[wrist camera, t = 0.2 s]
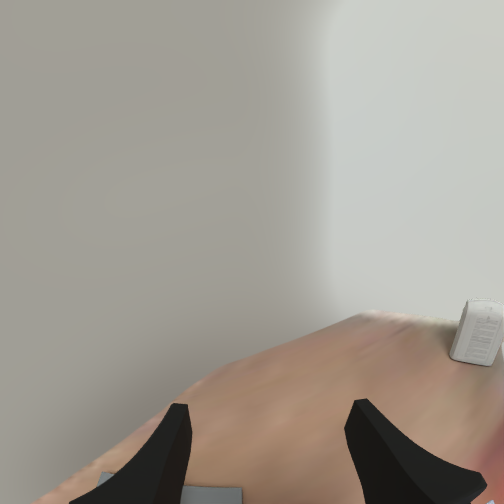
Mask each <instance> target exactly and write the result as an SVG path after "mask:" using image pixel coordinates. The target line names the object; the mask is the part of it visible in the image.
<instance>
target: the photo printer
mask: <svg viewBox="0 0 504 504" xmlns="http://www.w3.org/2000/svg"><path fill="white" fill-rule="evenodd" d="M503 336H504V304H503V303H501V302H498V301H495V300H491V299H483V298H482V299H471V300H468V301H467V302H466V305H465V307H464V309H463V312H462V316H461V319H460V323H459V326H458V329H457V332H456V335H455V339H454V342H453V345H452V348H451V350H450V357H451V358H452V359H454V360H457V361H462V362H467V363H473V364H478V365H485V366H491V365H492V363H493V361H494V359H495V356H496V354H497V351H498V349H499V346H500V344H501V341H502V338H503Z"/></svg>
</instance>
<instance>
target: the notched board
mask: <svg viewBox="0 0 504 504" xmlns="http://www.w3.org/2000/svg"><path fill="white" fill-rule="evenodd" d="M113 475H114V474H110V473H106V472H102V473H101V476H100V479H99V481H98V484H97V487H98V486H99V485H101V484H102V483H104V482H105V481H107V480H108V479H109V478H111V477H112V476H113ZM180 504H243V503H242V488H219V487H197V486H184V485H183V489H182V495H181V503H180Z"/></svg>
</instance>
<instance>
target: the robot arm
mask: <svg viewBox="0 0 504 504" xmlns="http://www.w3.org/2000/svg"><path fill="white" fill-rule="evenodd" d="M344 430H345V435H346V440H347V445H348V448H349V451H350V454H351V457H352V460H353V462H354V465H355V468H356V471H357V474H358V476H359V479H360V482H361V485H362V489H363V493H364V498H365V503H366V504H471V503H470V502H472V501H473V500H474V499H475V498H476V497H477V496H479V495H480V494H481V493H482V492H483V491H484V490H485V489H486V487H487V483H486V482H485V480H484V478H483V477H482V475H481V473H479V472H475V471H471V470H468V469H464V468H461V467H459V466H456V465H453V464H451V463H449V462H446V461H444V460H442V459H440V458H438V457H436V456H434V455H433V454H431V453H429V452H428V451H426V450H425V449H423V448H422V447H420V446H418V445H417V444H416V443H414V442H413V441H412V440H410V439H409V438H408V437H407V436H405V435H404V434H403V433H402V432H401V431H400V430H398V429H397V428H396V427H395V426H394V425H393V424H392V423H391V422H390V421H389V420H388V419H387V418H386V417H385V416H384V415H383V414H382V413H381V412H380V411H379V410H378V409H377V408H376V407H375V406H374V405H373V404H372V403H371V402H370V401H369V400H368V399H367V398H366V399H360V400H354V403H353V406H352V409H351V411H350V414H349V417H348V419H347V422H346V424H345V427H344ZM191 443H192V427H191V422H190V416H189V410H188V404H178V403H173V404H171V406H170V408H169V410H168V411H167V413H166V415H165V416H164V418H163V420H162V421H161V423H160V424H159V426H158V427H157V428H156V430H155V431H154V433H153V434H152V435H151V437H150V438H149V439H148V441H147V442H146V443H145V444H144V445H143V447H142V448H141V449H140V450H139V451H138V452H137V454H136V455H135V456H134V457H133V458H132V459H131V460H130V461H129V462H128V463H127V464H126V465H125V466H124V467H123V468H121V469H120V470H119V471H118V472H117V473H115V474H114V475H113V476H112V477H111V478H109V479H108V480H107V481H105V482H104V483H102V484H101V485H99V486H98V487H96V488H95V489H93V490H91V491H90V492H88V493H86V494H84V495H82V496H80V497H78V498H76V499H74V500H72V501H70V502H69V504H180V503H181V495H182V489H183V484H184V480H185V475H186V471H187V466H188V462H189V457H190V452H191ZM486 504H495V503H494V502H493V500H491V501H489V502H488V503H486Z"/></svg>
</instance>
